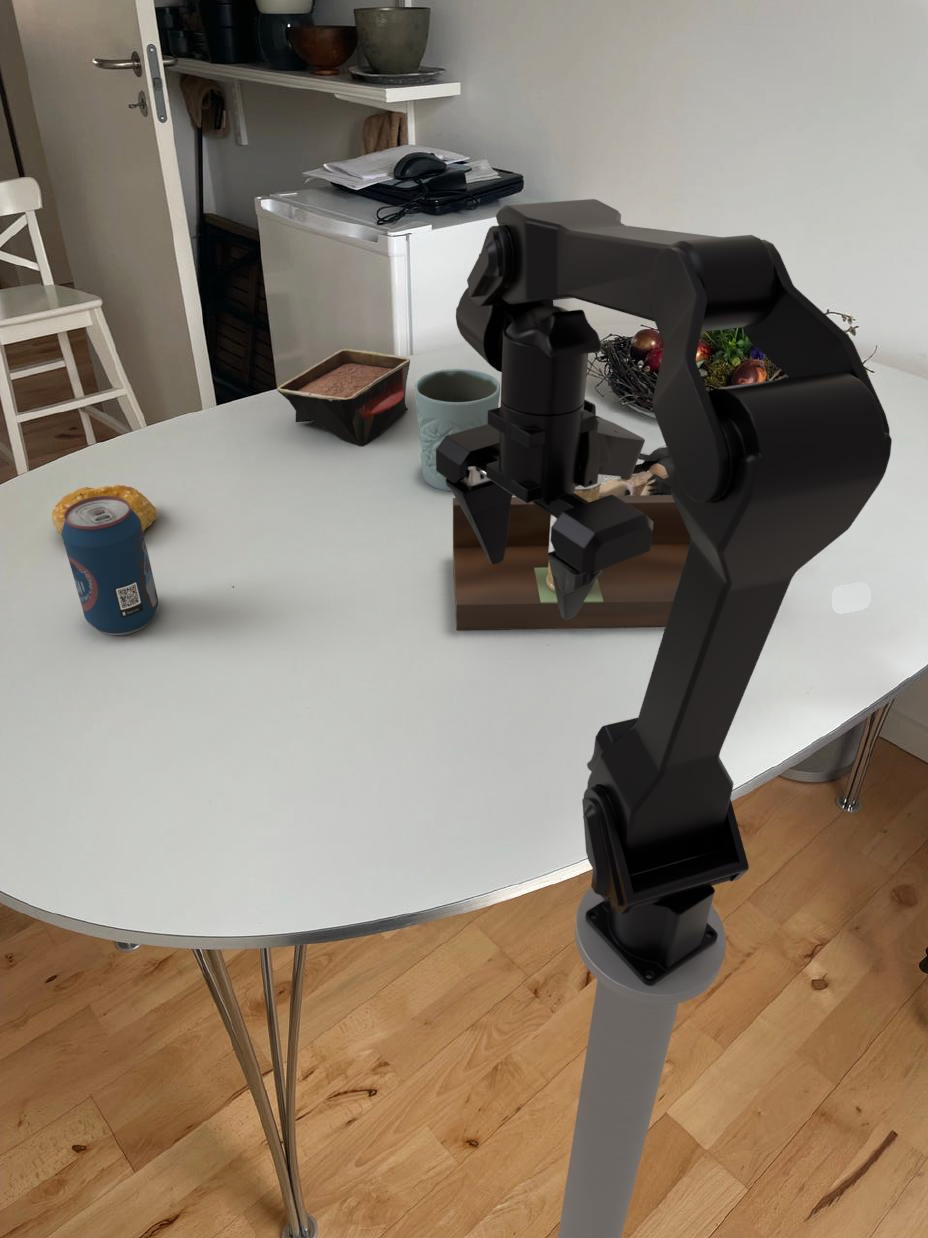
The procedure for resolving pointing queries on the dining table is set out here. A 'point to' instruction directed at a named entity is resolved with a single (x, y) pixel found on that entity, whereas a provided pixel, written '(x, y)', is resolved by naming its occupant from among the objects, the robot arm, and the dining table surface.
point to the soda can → (110, 564)
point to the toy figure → (644, 477)
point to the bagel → (130, 494)
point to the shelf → (519, 581)
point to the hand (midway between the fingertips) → (531, 588)
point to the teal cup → (451, 411)
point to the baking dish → (351, 394)
